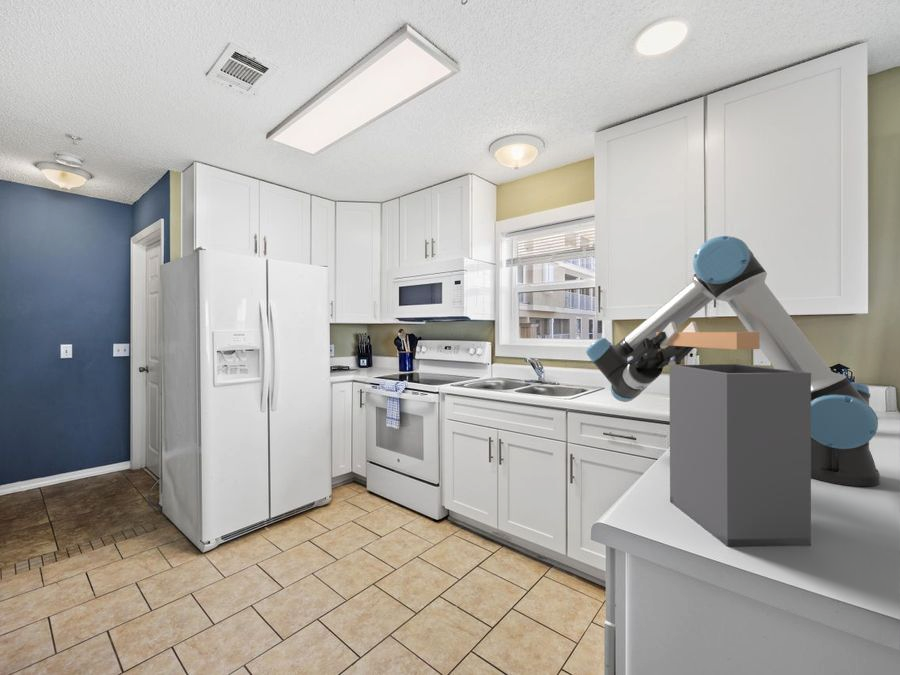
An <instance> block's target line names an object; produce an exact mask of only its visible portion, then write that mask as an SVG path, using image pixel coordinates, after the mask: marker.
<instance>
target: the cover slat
mask: <svg viewBox="0 0 900 675" xmlns="http://www.w3.org/2000/svg"><path fill="white" fill-rule="evenodd" d="M658 333H660V332H656V336H657V335H658ZM669 345H670V346H687V347H694V348H706V349H707V348H708V349H722V350H723V349H724V350H726V349H727V350H761V349H760V332H748V331H699V332H682V331H677V333H676V334H675V336H674V337H673V338H672V339H671V340H670V341H669V342H668V343H667V344H666V345H665V346H669ZM660 346H661V344H660Z"/></svg>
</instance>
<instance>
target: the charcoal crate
mask: <svg viewBox="0 0 900 675" xmlns="http://www.w3.org/2000/svg"><path fill="white" fill-rule="evenodd" d="M668 365H669V366H668V368H669V373H668V374H669V503H671V504H672V505H674V506H675V507H676V508H678V509H679V510H680V511H682V512H683V513H684V514H685V515H686V516H688V517H689V518H690V519H692V520H693V521H694V522H695V523H697V524H698V525H699V526H701V528H703V529H704V530H706V531H707V532H708V533H710V534H711V535H712V536H714V538H716V539H717V540H719V542H721V543H722V544H724V545H725V546H726V547H771V546H772V547H780V546H781V547H783V546H785V547H789V546H790V547H791V546H793V547H794V546H796V547H797V546H811V545H812V478H811V373H807V372H799V371H790V370H782V369H774V367H772V368H771V367H762V366H756V365H755V366H754V365H749V364H748V365H745V364H740V363H738V364H737V363H729V364H728V363H725V364H723V363H722V364H720V363H719V364H712V363H711V364H710V363H709V364H678V365H676V364H668Z"/></svg>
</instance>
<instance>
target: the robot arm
mask: <svg viewBox="0 0 900 675" xmlns="http://www.w3.org/2000/svg"><path fill="white" fill-rule="evenodd" d="M692 266H693V270H694V274H693V275H692V279H691V282H689V283H688V284H687V285H686V286H685V287H683V288H682V289H681V290H680V291H678V292H677V293H676V294H675V295H674V296H672V297H671V298H670V299H669V300H668V301H667V302H665V303H664V304H663V305H662V306H660V307H659V309H657V310H656V311H654V313H652V314H651V315H650V316H649V317H648V318H647V319H645V320H644V321H642V323H640V324H639V325H638V326H637V327H636V328H634V329H633V330H632V331H631V332H630V333H628V334H627V335H626V336H625V337H623V339H621V340H619V342H618V343H617V344H612V343H611V342H610V341H609V340H608V339H607V338H605V337H601V338H599V339H597V340H595V341H594V342H592V343H591V344H590V345H589V346H588V347H587V348H586V352H585V353H586V355H587V356H588V357H589V359H590V361H591V362H592V363H593V364H594V365H595V366H596V367H597V368H598V370H599V371H600V372H601V374H602V375H604V377H605V378H606V380H607V381H608V382H609V384H611V385H610V393H611V395H612V396H613V398H614V399H616V400H617V401H619V402H623V403H627V402H632V401H633V400H635V399H636V398H637V397H638V396H640V395H641V393H642V392H643V391H644V390H645V389H647V387H648V386H650V385H651V384H652V383H654V381H655V380H656V379H658V377H660V375H661V374H662V372H663V369H664V367H666V366H668V365H670V363H672V364H674V365H681V364H682V361H683V360H684V359H685V357H687V355H688V354H689V353H691V352H692V350H694V348H695V347H687V346H670V345H666V344H667V343H668V342H669V341H670V340H671V339H672V338H673V337H674V336H675V334H676V333H677V332H678V329H677V328H679V327H680V326H681V325H682V324H684V323H685V322H686V321H687V320H689V319H690V318H692V317H693V316H694V315H695V314H696V313H697V312H699V311H700V310H701V309H703V308H704V307H705V306H707V305H708V304H709V303H711V302H712V301H714V300H715V301H716V300H717V301H721V302H722V301H723V302H726V303H728V305H729V306H730V308H731V310H733V313H735V315H736V316H737V317H738V319H739V320H740V322H741V323H742V325H743V326H744V328H745V329H746V330H747V332H760V349H759V350H761V352H762V353H763V354H764V356H765V357H766V359H767V360H768V361H769V363H770V364H771V366H772V368H773V369H782V370H790V371H799V372H807V373H811V479H815V480H818V481H823V482H828V483H833V484H837V485H845V486H855V487H875V486H878V485H879V484H880V483H881V482H880V481H881V480H880V479H881V478H880V477H881V475H880V472H879V470H878V469H877V467H876V463H875V460H874V458H873V454H872V453H871V451H870V441H871V440H872V439H873V438H874V437H875V435H876V433H877V431H878V428H879V419H878V416H877V414H876V412H875V411H874V409H873V408H872V407H871V406H870V398H871V393H870V389H869V386H868V385H867V384H865V383H860V382H851V381H850V380H849V378H848V377H847V376H846V375H845V374H841V373H837V372H833V370H831V367H829V366H828V364H827V363H826V362H825V361H824V359H823V358H822V356H821V355H820V354H819V352H818V351H817V350H816V349H815V347H814V345H812V343H811V342H810V341H809V339H808V338H807V337H806V335H805V334H804V333H803V331H802V330H801V329H800V328H799V326H798V325H797V324H796V322H795V321H794V319H793V318H792V317H791V315H790V314H789V313H788V311H787V310H786V308H784V306H783V305H782V304H781V302H780V301H779V300H778V298H777V297H776V296H775V295H774V293H773V292H772V291H771V290H772V289H770V288H769V287H768V285H767V284H766V278H767V275H768V272H767V271H766V269H764V267H763V266H762V264H761V263H760V262H759V260H758V259H757V258H756V257H755V256H754V252H752V251H751V250H750V249H749V246H748V245H747V244H746V243H745V242H744V241H743V240H742V239H740V238H738V237H735V236H728V235H721V236H717V237H716V236H715V237H713V238H711V239H708V240H706V241H705V242H704V243H702V244H701V245H700V246H699V247H698V248H697V250H696V252H695V253H694V256H693V259H692ZM656 332H660V333H658V335H657V336H656ZM681 332H700V331H699V327H698V325H697V322H696V321H691V322H690V323H689V324H688V325H687V326H686V327H685V328H684V329H683V330H682V331H681ZM660 344H661V345H660ZM665 346H666V347H665ZM662 347H665V348H662Z"/></svg>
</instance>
